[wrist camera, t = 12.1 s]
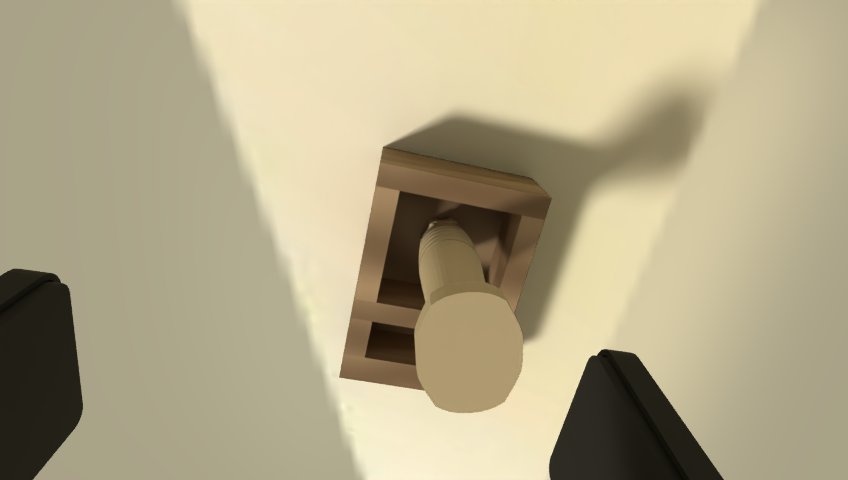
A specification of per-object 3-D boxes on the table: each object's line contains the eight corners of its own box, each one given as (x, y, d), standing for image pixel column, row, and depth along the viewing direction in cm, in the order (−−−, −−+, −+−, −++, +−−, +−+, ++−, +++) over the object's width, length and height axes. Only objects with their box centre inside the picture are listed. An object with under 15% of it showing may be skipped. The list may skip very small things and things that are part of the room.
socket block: (383, 146, 34) (380, 162, 30) (531, 178, 36) (551, 197, 31) (346, 339, 40) (339, 377, 35) (476, 360, 41) (486, 399, 37)
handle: (475, 191, 35) (524, 288, 21) (475, 273, 37) (520, 409, 23) (407, 195, 35) (411, 295, 21) (412, 277, 37) (419, 416, 23)
